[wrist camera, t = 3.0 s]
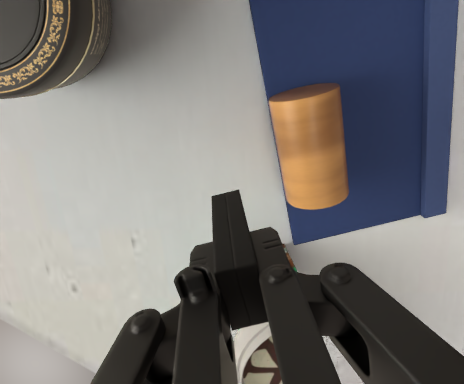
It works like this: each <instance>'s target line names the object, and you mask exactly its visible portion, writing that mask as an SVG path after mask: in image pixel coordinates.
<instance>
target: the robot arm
mask: <svg viewBox="0 0 464 384" xmlns="http://www.w3.org/2000/svg"><path fill="white" fill-rule="evenodd" d="M212 223H213V242H210V243H206V244H201V245H197V246H195V247H194V249H193V251H192V252H191V254H190V265H189V267H187V268H185V269H183V270H182V271H180V272H179V273H178V274H177V276H176V277H175V279H174V283H175V286H176V288H177V291H178V293H179V296H180V298H181V302H180V304H178V305H177V306H176V307H174V308H173V309H171V310H169V311H167V312H165V313H163V314H161V315H160V313H159V312H158V311H157V310H155V309H145V310H141V311H139V312H137V313H135V314H134V315H133V316H132V317H130V318H129V319H128V320H127V322H126V323H125V324H124V326H123V328H122V330H121V331H120V333H119V335H118V337H117V338H116V340H115V342H114V344H113V345H112V347H111V349H110V351H109V352H108V354H107V356H106V358H105V359H104V361H103V363H102V365H101V366H100V368H99V370H98V372H97V373H96V375H95V377H94V379H93V380H92V382H91V384H238V380H237V370H236V359H235V349H234V341H233V338H232V335H231V330H230V325H231V328H232V330H236V329H240V328H245V327H249V326H253V325H257V324H262V323H266V322H269V327H270V331H271V335H272V340H273V344H274V349H275V353H276V357H277V362H278V366H279V371H280V375H281V379H282V384H341V382H340V379H339V377H338V374H337V372H336V370H335V367H334V365H333V362H332V360H331V357H330V355H329V352H328V350H327V348H326V345H325V343H324V340H323V338H322V336H329V337H330V339H331V341H332V342H333V343H334V345H335V346H336V347H337V348H338V350H339V351H340V352H341V354H342V355H343V356H344V357H345V359H346V360H347V361H348V363H349V364H350V365H351V366H352V368H353V369H354V370H355V372H356V373H357V374H358V376H359V377H360V378H361V379H362V381H363V382H364V383H365V384H464V356H463V355H461V354H460V353H459V352H458V351H457V350H455V349H454V348H453V347H452V346H451V345H449V344H448V343H447V342H446V341H445V340H443V339H442V338H441V337H440V336H438V335H437V334H436V333H435V332H434V331H432V330H431V329H430V328H429V327H428V326H426V325H425V324H424V323H423V322H422V321H420V320H419V319H418V318H417V317H416V316H414V315H413V314H412V313H411V312H409V311H408V310H407V309H406V308H405V307H403V306H402V305H401V304H400V303H399V302H397V301H396V300H395V299H394V298H393V297H391V296H390V295H389V294H388V293H387V292H385V291H384V290H383V289H382V288H380V287H379V286H378V285H377V284H376V283H374V282H373V281H372V280H371V279H370V278H368V277H367V276H366V275H365V274H364V273H362V272H361V271H360V270H359V269H358V268H356V267H354V266H352V265H351V264H346V263H333V264H330V265H327V266H326V267H324V268H323V269H322V270H321V272H320V275H305V274H301V273H299V272H297V271H295V270H294V269H293V268H292V267H291V265H290V263H289V260H288V258H287V255H286V253H285V250H284V248H283V245H282V243H281V240H280V238H279V235H278V233H277V231H275V230H274V229H273V228H271V227H268V228H264V229H260V230H256V231H252V232H249V228H248V224H247V220H246V216H245V212H244V208H243V204H242V200H241V196H240V192H239V190H235V191H231V192H227V193H223V194H219V195H215V196H212Z"/></svg>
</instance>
